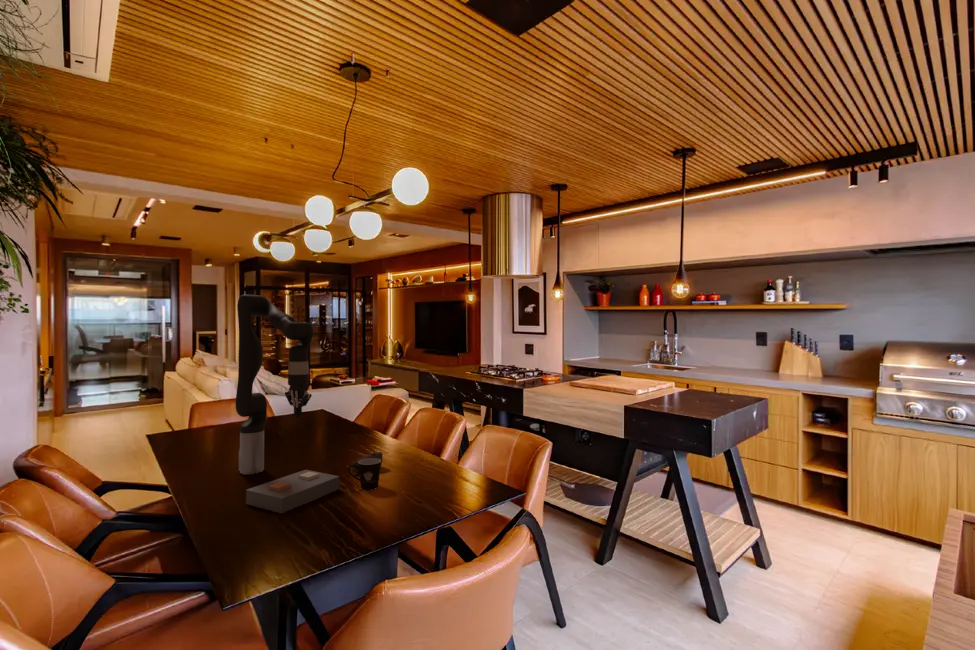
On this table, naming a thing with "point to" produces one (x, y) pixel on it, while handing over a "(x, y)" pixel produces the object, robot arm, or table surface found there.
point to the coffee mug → (368, 473)
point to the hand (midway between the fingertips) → (297, 416)
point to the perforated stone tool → (374, 455)
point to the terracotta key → (279, 486)
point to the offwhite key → (308, 476)
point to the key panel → (291, 492)
